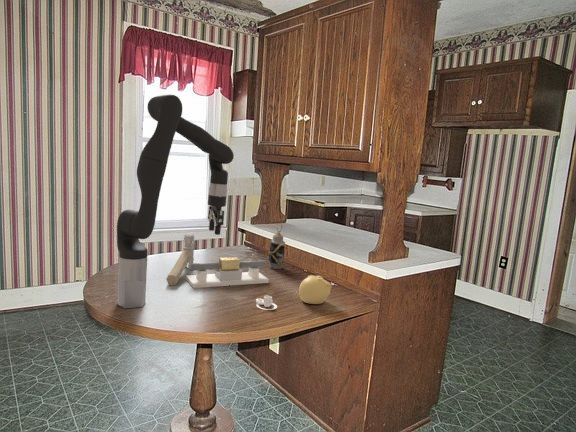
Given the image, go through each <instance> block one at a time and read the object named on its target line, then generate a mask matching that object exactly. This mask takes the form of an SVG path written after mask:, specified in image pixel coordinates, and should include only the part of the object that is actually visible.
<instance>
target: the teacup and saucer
mask: <svg viewBox="0 0 576 432" xmlns="http://www.w3.org/2000/svg"><path fill="white" fill-rule="evenodd" d="M255 303H256V307H257V308H258V309H260V310H264V311H273V310H276V309H277V308H278V305H277V304H276V303H274V300H273V297H272V295H263V298H262V297H261V298H260V297H259V298H256V299H255ZM260 305H262V306H263V305H264V308H263V307H261V306H260ZM271 306H273V307H272V308H270V307H271ZM265 307H266V308H265Z"/></svg>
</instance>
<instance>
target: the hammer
mask: <svg viewBox="0 0 576 432" xmlns="http://www.w3.org/2000/svg"><path fill="white" fill-rule="evenodd" d="M194 239H195V235H194V233H189V232H187V233H185V234H184V236H183V242H184V243H185V246H184V247H183V250H182V251H181V253H180V255H179V257H178V259H177V261H175V264H174V265H173V267H172V269H171V270H170V271H169V273H168V275H167V276H166V282H167V284H168V285H169V286H176V285H177V284H178V282H179V280H180V278H181V276H182V274H183V272H184V270H185V269H186V268H187V269H190V264H192V263H194V261H195V260H194V257H195V256H194V255H195V254H194V252H195V250H194V247H195V246H194V242H193V241H194ZM185 267H186V268H185Z"/></svg>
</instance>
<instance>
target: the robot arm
mask: <svg viewBox="0 0 576 432" xmlns="http://www.w3.org/2000/svg"><path fill="white" fill-rule="evenodd" d="M147 112H148V114H149V116H150V117H151V118H152V119H153V120H154V121H156V122H157V123H156V127H155V130H154V133H153V134H152V135H151V137H150V139H149V140H148V141H147V142H146V144H145V145H144V147H143V148H142V151H141V152H140V155H139V160H138V163H137V168H136V178H137V181H138V186H139V189H140V194H141V198H140V204H139V210H134V209H125V210H123V211H122V212H120V214H119V215H118V217H117V223H116V247H117V250H118V252H119V254H118V279H117V306H119V307H121V308H123V309H133V308H142V307H143V306H145V304H146V297H147V296H146V295H147V294H146V292H147V273H148V272H147V271H148V257H149V256H148V253H149V250H148V248H147V247H146V246H145V245H144V244H143V243H141V241H140V240H146V239H149V237H150V236H151V235H152V233H153V231H154V228H155V223H156V218H157V211H158V204H159V200H160V199H159V198H160V193H161V188H162V184H163V181H164V176H165V174H166V173H165V172H166V169H167V166H168V165H167V164H168V160H169V157H170V154H171V153H170V152H171V149H172V145H173V142H174V138H175V135H176V133H177V134H179V135H180V136H182V137H183V138H184V139H186V140H188V141H189V142H190V143H192V144H193V145H194V146H196V147H197V148H198V149H199V150H200V151H201V152H204V153H205V154H208V163H209V168H210V169H209V170H210V182H209V187H208V197H207V205H208V215H207V220H208V221H209V223H208V224H209V225H208V230H209V231H211V232H213V231H214V235H217V236H220V235H221V228H222V226H223V225H224V219H225V210H222V208H223V207H226V206H227V199H228V198H227V195H228V179H229V178H228V177H229V173H228V171H227V170H226V169H224V168H223V166H224V165H229V164H230V163H231V162H232V161H233V160H234V152H233V150H232V148H230V147H229V146H228V145H227V144H225V143H223V142H221V141H220V140H218V139H217V138H215V137H214V136H213V135H211V134H210V133H209V132H208V131H207V130H205V129H204V128H203V127H201V126H200V125H197V124H196V123H194V122H191V121H189V120H187V119H185V118H184V117H182V115H183V104H182V101H181V99H180V98H179V97H178V96H177V95H175V94H161V95H157V96H153V97H151V98H150V99H149V101H148V102H147ZM139 239H140V240H139Z"/></svg>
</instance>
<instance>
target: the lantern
mask: <svg viewBox="0 0 576 432" xmlns="http://www.w3.org/2000/svg"><path fill="white" fill-rule="evenodd" d="M279 220H280V223H281V225H283V222H282V219H281V218H278V219H277V222H276V224H278V223H279ZM276 230H277V233H275V234H273V235H272V240H270V244H269V250H268V258H267V259H268V267H269V268H270V269H274V270H281V269H282V268H283V265H284V261H285V249H286V248H285V247H286V241H284V235H282V234H281V232H282V230H283V226H281V227H280V231H279V230H278V228H276Z"/></svg>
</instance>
